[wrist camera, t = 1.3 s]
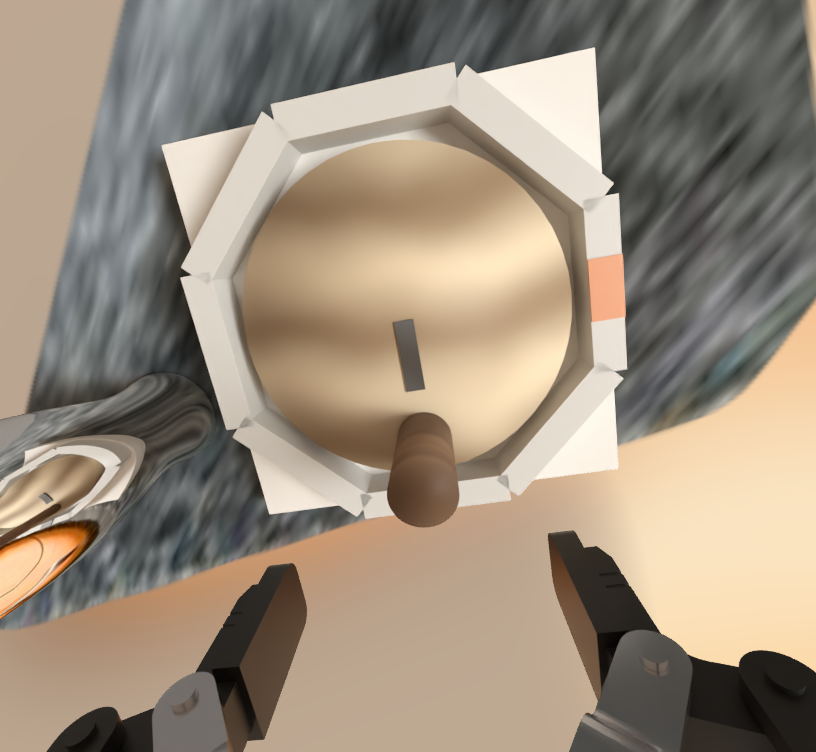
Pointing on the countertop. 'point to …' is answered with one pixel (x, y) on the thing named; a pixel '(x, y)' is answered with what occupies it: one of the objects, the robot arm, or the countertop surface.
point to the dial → (408, 313)
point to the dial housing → (436, 122)
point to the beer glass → (87, 474)
